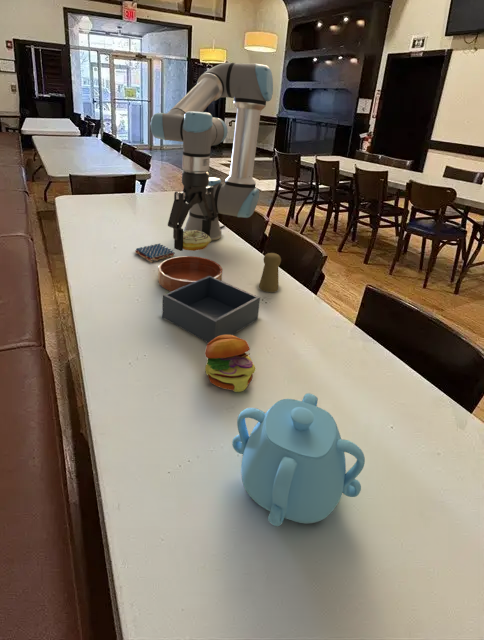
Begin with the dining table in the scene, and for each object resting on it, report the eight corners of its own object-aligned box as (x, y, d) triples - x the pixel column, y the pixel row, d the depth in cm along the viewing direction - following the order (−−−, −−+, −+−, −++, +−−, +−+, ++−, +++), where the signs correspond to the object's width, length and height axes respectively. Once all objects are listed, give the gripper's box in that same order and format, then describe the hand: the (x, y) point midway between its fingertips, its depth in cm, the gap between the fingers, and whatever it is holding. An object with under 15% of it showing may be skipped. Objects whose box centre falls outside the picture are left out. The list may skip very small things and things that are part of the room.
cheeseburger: (219, 401, 78) (216, 351, 77) (196, 379, 88) (193, 334, 86) (264, 387, 83) (262, 340, 81) (238, 367, 92) (235, 325, 91)
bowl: (189, 264, 139) (190, 251, 138) (233, 282, 128) (235, 269, 127) (145, 280, 125) (145, 266, 124) (190, 302, 114) (191, 288, 112)
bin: (207, 296, 118) (209, 275, 116) (257, 319, 108) (260, 297, 106) (162, 317, 106) (162, 294, 103) (213, 346, 96) (215, 321, 93)
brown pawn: (256, 289, 125) (260, 255, 121) (262, 281, 130) (266, 249, 126) (275, 293, 123) (280, 259, 119) (280, 286, 128) (285, 253, 124)
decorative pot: (224, 449, 68) (231, 383, 63) (312, 435, 73) (325, 371, 67) (257, 549, 54) (269, 472, 49) (365, 523, 58) (386, 450, 53)
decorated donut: (216, 244, 125) (217, 233, 123) (197, 255, 116) (198, 242, 115) (187, 236, 129) (188, 225, 128) (167, 246, 120) (167, 234, 119)
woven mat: (133, 253, 144) (133, 247, 144) (159, 247, 151) (159, 242, 150) (150, 263, 137) (150, 257, 137) (175, 256, 144) (176, 251, 143)
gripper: (174, 178, 104) (172, 258, 112) (232, 169, 121) (226, 239, 129) (154, 172, 108) (154, 250, 116) (213, 164, 125) (208, 233, 133)
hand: (192, 244), depth 123 cm, fingers closed on decorated donut, 11 cm apart
